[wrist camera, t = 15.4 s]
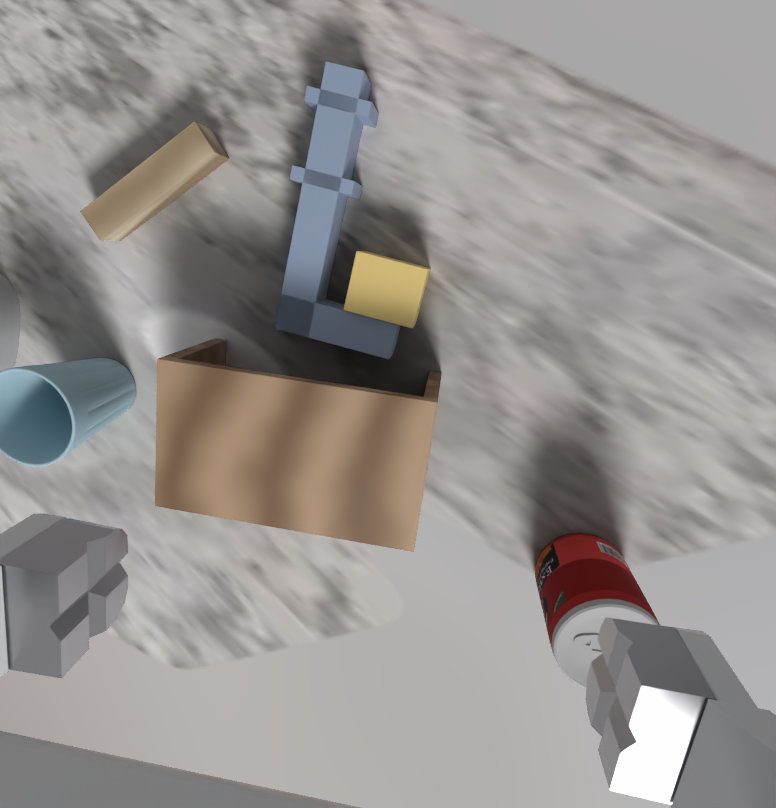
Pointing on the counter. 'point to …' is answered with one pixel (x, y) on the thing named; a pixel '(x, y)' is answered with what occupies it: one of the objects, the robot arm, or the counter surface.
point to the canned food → (585, 598)
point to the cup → (59, 406)
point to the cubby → (291, 449)
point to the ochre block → (386, 288)
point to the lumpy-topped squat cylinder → (8, 324)
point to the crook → (329, 218)
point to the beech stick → (155, 183)
